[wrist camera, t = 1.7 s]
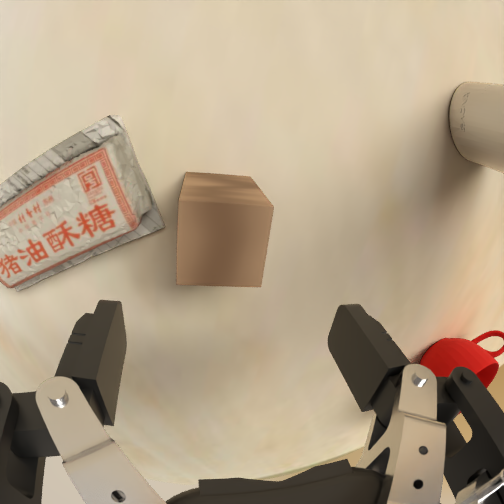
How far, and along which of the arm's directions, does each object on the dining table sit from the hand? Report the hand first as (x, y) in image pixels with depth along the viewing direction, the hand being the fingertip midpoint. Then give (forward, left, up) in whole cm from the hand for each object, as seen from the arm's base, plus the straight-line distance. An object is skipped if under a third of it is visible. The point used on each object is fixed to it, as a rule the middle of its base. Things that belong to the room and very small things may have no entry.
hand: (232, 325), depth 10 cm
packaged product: (+14, +1, -15) cm, 21 cm away
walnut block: (0, 0, -15) cm, 15 cm away
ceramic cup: (-37, +19, -15) cm, 44 cm away
